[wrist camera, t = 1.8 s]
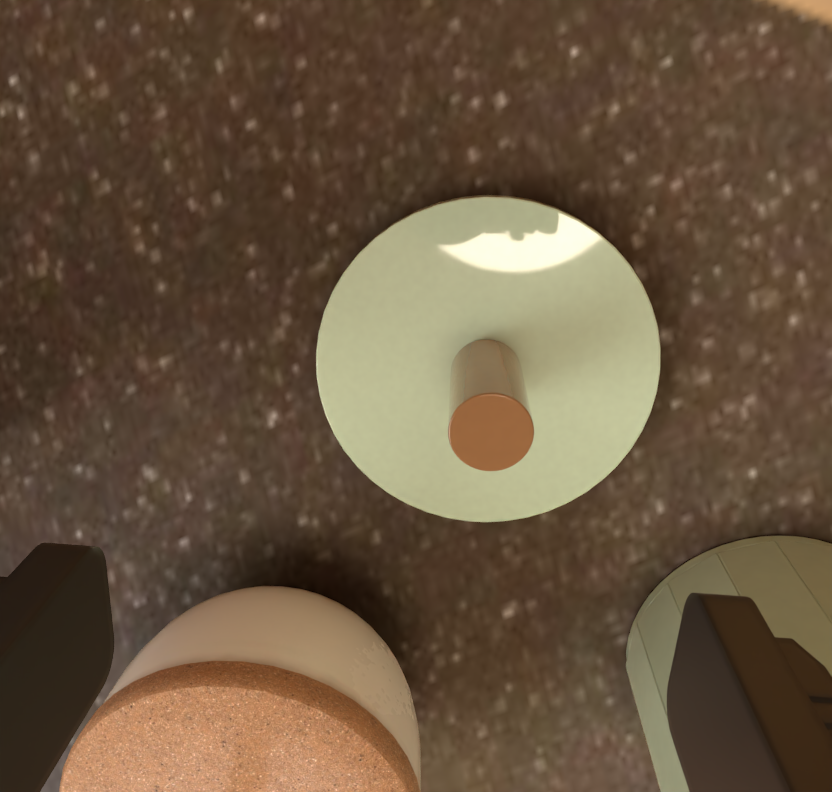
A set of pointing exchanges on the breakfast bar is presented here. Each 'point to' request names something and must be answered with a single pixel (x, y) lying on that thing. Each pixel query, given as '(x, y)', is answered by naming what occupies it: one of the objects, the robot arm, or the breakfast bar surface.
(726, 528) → the breakfast bar surface
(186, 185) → the breakfast bar surface
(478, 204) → the canister lid
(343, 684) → the lidded bowl
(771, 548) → the canister
